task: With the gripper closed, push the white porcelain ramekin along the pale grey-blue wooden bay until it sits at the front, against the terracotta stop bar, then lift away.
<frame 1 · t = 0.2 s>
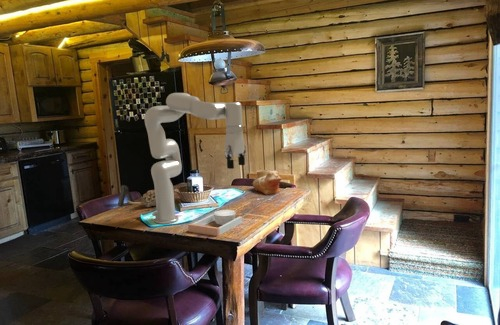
hand: (236, 166, 185), 31 cm above the table, tool pointing down, fingers open, 9 cm apart
knobbly ball on stick: (146, 207, 239), on the table
ramekin: (224, 222, 203), on the table
bread loaf: (267, 191, 268), on the table
phone stand: (126, 204, 249), on the table
bay: (216, 226, 196), on the table
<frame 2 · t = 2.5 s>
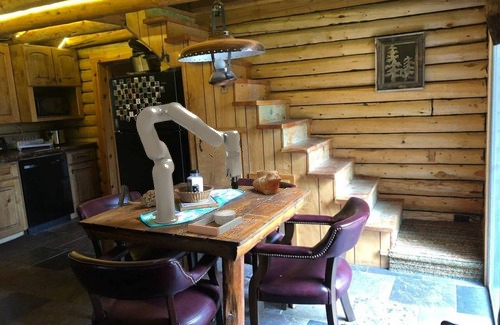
hand: (235, 188, 210), 15 cm above the table, tool pointing down, fingers closed
nothing on the table moved.
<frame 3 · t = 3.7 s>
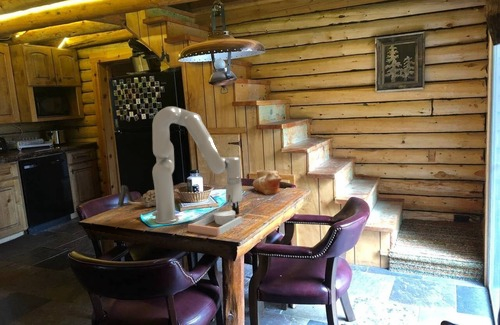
hand: (235, 214, 212), 1 cm above the table, tool pointing down, fingers closed
nothing on the table moved.
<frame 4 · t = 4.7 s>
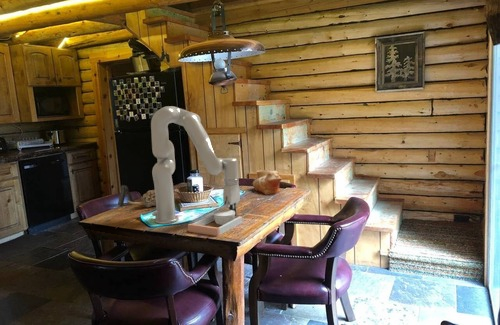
hand: (233, 215, 210), 1 cm above the table, tool pointing down, fingers closed
ramekin: (224, 222, 203), on the table, touching gripper
everything else where it was.
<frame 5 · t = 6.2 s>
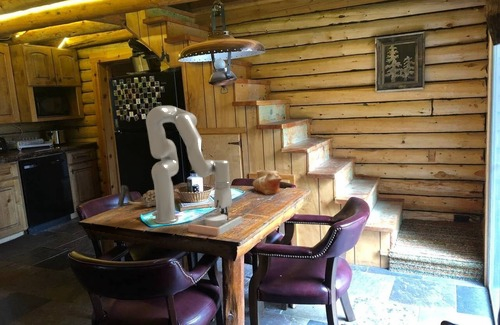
hand: (224, 220, 203), 1 cm above the table, tool pointing down, fingers closed
ramekin: (216, 227, 196), on the table, touching gripper
everything else where it was.
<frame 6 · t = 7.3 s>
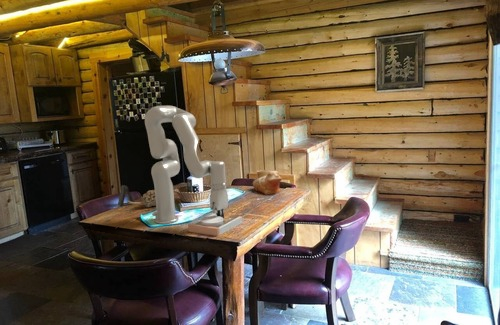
hand: (220, 222, 200), 1 cm above the table, tool pointing down, fingers closed
ramekin: (212, 230, 193), on the table
everything else where it was.
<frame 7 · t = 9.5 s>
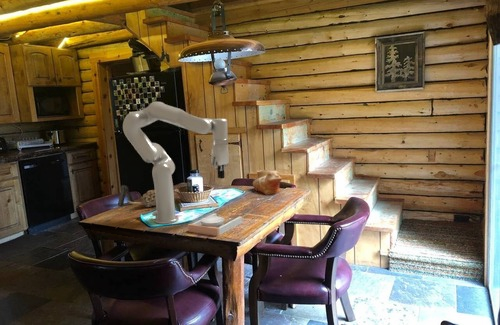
hand: (221, 177, 207), 22 cm above the table, tool pointing down, fingers closed
nothing on the table moved.
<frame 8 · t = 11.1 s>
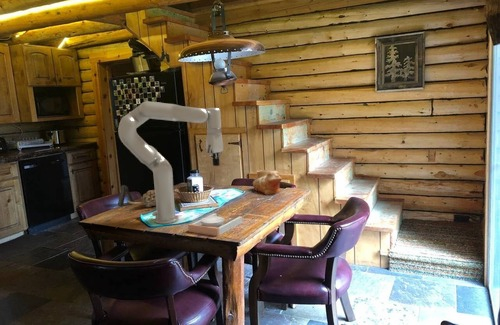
hand: (216, 165, 214), 27 cm above the table, tool pointing down, fingers closed
nothing on the table moved.
at the end: ramekin inside the target area (1.2 cm from its centre), on the table; ramekin moved 12.1 cm from its start; ramekin tilted 0° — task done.
